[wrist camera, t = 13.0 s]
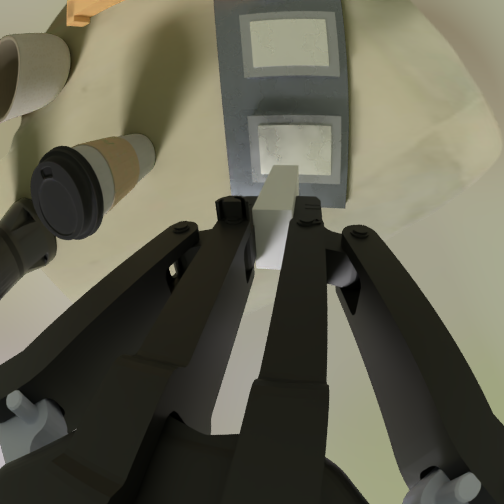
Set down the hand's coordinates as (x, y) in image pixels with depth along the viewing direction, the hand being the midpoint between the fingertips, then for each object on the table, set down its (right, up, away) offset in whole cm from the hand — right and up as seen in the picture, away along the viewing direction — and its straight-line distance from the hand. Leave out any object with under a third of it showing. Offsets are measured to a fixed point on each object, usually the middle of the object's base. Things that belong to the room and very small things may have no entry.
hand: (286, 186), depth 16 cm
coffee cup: (-17, +9, +16) cm, 25 cm away
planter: (-32, +24, +10) cm, 41 cm away
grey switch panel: (+1, +15, +8) cm, 17 cm away
